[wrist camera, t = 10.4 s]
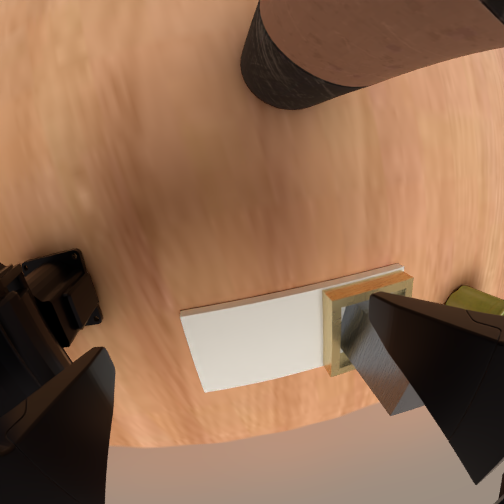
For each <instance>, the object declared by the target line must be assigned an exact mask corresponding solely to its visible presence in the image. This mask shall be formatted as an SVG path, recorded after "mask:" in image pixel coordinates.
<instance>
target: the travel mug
mask: <svg viewBox="0 0 504 504" xmlns="http://www.w3.org/2000/svg"><path fill="white" fill-rule="evenodd" d="M503 47H504V0H259V2H258V5H257V8H256V11H255V14H254V17H253V20H252V23H251V26H250V29H249V32H248V35H247V38H246V41H245V45H244V48H243V52H242V56H241V71H242V75H243V78H244V80H245V82H246V84H247V86H248V87H249V88H250V90H251V91H252V92H253V93H254V94H255V95H256V96H257V97H258V98H260V99H261V100H263V101H264V102H266V103H268V104H270V105H272V106H275V107H278V108H282V109H288V110H297V109H303V108H307V107H311V106H313V105H316V104H319V103H321V102H324V101H327V100H330V99H332V98H335V97H338V96H341V95H344V94H346V93H349V92H352V91H355V90H358V89H361V88H364V87H368V86H371V85H374V84H377V83H380V82H382V81H385V80H388V79H390V78H393V77H396V76H399V75H402V74H405V73H408V72H411V71H414V70H417V69H420V68H423V67H426V66H429V65H433V64H436V63H439V62H443V61H446V60H450V59H454V58H458V57H461V56H465V55H469V54H474V53H478V52H483V51H487V50H492V49H497V48H503Z"/></svg>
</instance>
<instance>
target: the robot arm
mask: <svg viewBox="0 0 504 504" xmlns="http://www.w3.org/2000/svg"><path fill="white" fill-rule="evenodd" d="M74 253H75V254H76V255H77V258H75V257H74ZM26 266H27V267H28V269H27V268H26ZM22 271H23V273H24V275H23V273H22ZM24 276H25V277H24ZM98 303H99V301H98V298H97V295H96V292H95V289H94V286H93V283H92V280H91V277H90V275H89V274H88V273H87V270H86V267H85V264H84V260H83V257H82V254H81V252H80V250H78V249H72V250H67V251H63V252H59V253H55V254H51V255H47V256H43V257H39V258H36V259H32V260H28V261H25V262H24V263H23V264H22V267H21V265H20V263H18V264H17V265H15V266H13V265H12V264H11V265H9V266H4V265H3V264H1V263H0V504H105V485H106V470H107V458H108V448H109V439H110V431H111V423H112V416H113V407H114V387H115V367H114V364H113V362H112V360H111V358H110V356H109V354H108V352H107V350H106V349H105V348H104V347H94V348H92V349H90V350H89V351H88V352H86V353H85V354H84V355H82V356H81V357H80V358H78V359H77V360H76V361H74V362H72V361H71V359H70V358H69V356H68V355H67V353H66V352H65V350H64V349H63V348H64V347H69V346H70V345H71V343H72V341H73V340H74V338H75V336H76V335H77V333H78V332H79V330H81V329H83V327H84V326H87V325H95V324H100V323H101V322H102V320H103V316H102V313H101V311H100V308H99V305H98ZM95 316H97V317H98V318H99V319H96V318H95ZM368 317H369V321H370V323H371V324H372V326H373V328H374V329H375V331H376V333H377V335H378V336H379V338H380V340H381V342H382V343H383V345H384V347H385V349H386V350H387V352H388V353H389V355H390V356H391V358H392V359H393V361H394V362H395V363H396V365H397V366H398V367H399V369H400V370H401V372H402V373H403V374H404V376H405V377H406V379H407V380H408V382H409V383H410V384H411V386H412V387H413V389H414V390H415V392H416V393H417V394H418V396H419V397H420V399H421V400H422V402H423V403H424V405H425V406H426V408H427V409H428V411H429V412H430V413H431V415H432V417H433V418H434V420H435V421H436V423H437V424H438V426H439V427H440V428H441V430H442V432H443V433H444V434H445V436H446V438H447V439H448V440H449V443H450V444H451V446H452V447H453V449H454V451H455V452H456V454H457V456H458V457H459V459H460V460H461V462H462V463H463V465H464V467H465V469H466V470H467V472H468V474H469V475H470V477H471V479H472V480H473V482H474V483H475V485H477V484H478V483H479V482H481V481H482V480H483V479H484V478H485V477H486V476H488V475H489V474H490V473H491V472H492V471H493V470H494V469H495V468H496V467H497V466H498V465H499V464H500V463H501V462H503V460H504V316H502V315H495V314H488V313H483V312H477V311H472V310H468V309H466V310H465V309H462V308H458V307H453V306H448V305H443V304H439V303H434V302H429V301H424V300H420V299H415V298H410V297H406V296H401V295H396V294H392V293H387V292H383V291H379V292H376V293H373V294H371V295H370V297H369V311H368ZM494 504H504V473H503V475H502V483H501V488H500V494H499V499H498V500H497V501H496V502H495V503H494Z"/></svg>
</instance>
